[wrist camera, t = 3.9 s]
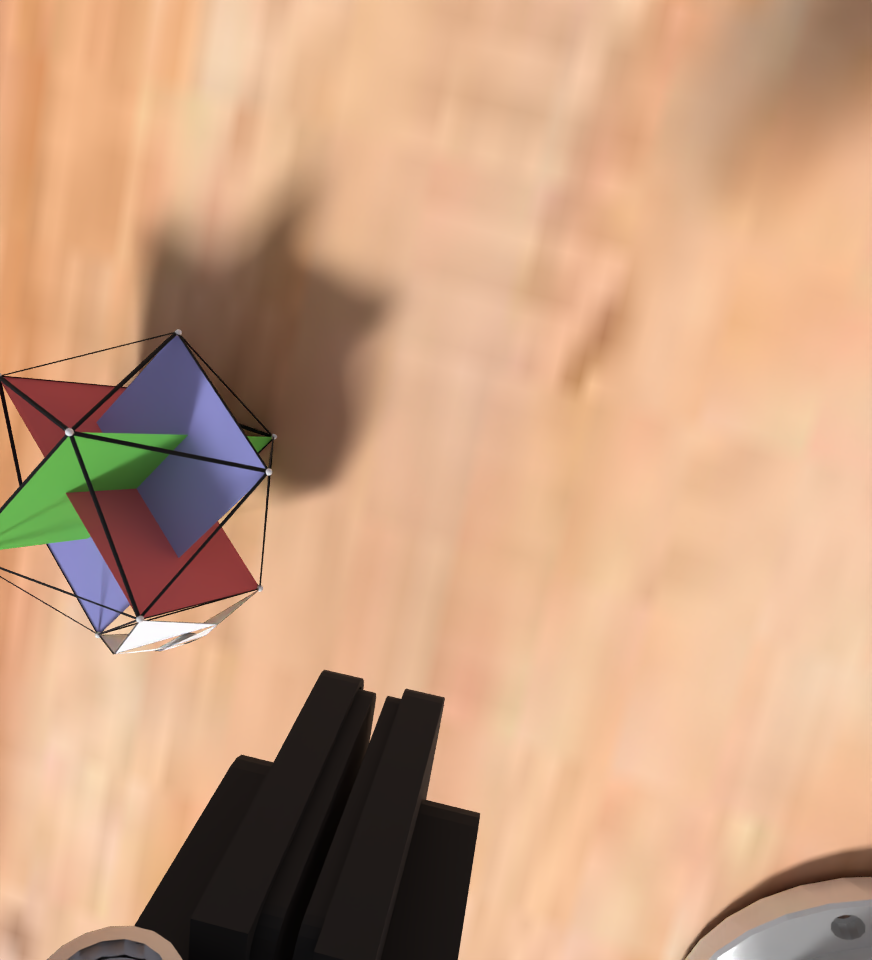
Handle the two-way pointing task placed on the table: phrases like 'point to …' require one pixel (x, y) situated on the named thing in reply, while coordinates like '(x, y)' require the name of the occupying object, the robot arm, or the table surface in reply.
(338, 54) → the table surface
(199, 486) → the geometric puzzle
